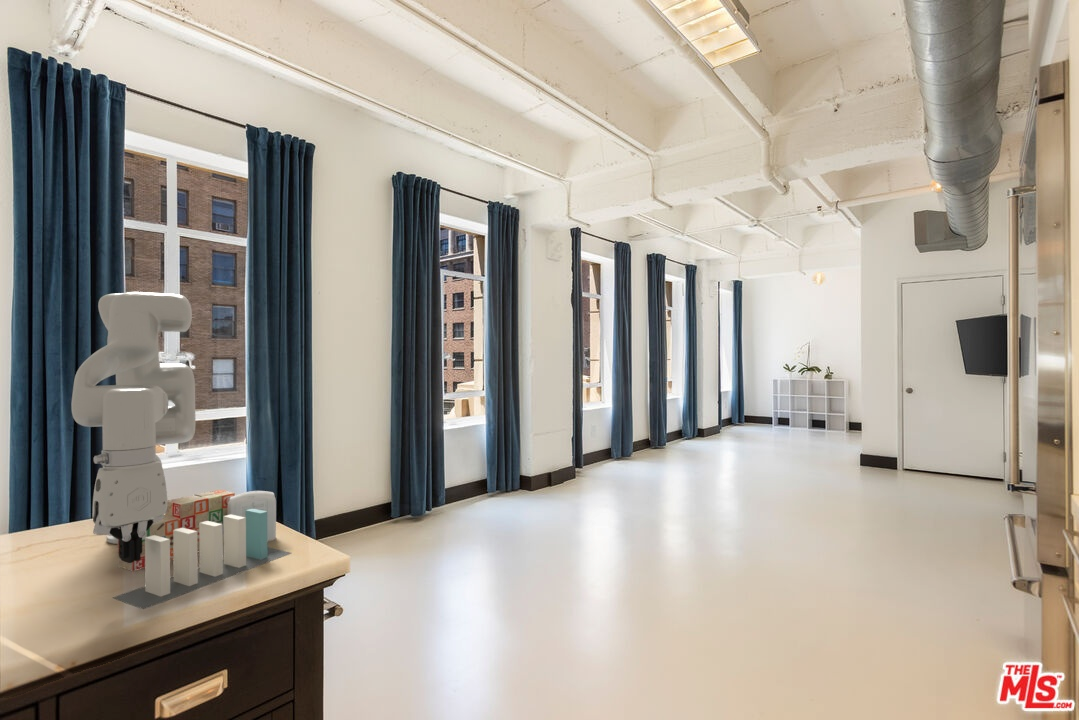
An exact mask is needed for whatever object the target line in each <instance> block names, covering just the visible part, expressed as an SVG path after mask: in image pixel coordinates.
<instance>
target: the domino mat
mask: <svg viewBox="0 0 1079 720" xmlns="http://www.w3.org/2000/svg"><path fill="white" fill-rule="evenodd" d="M291 554H292V552H290V551H285V550H281V549H277V548H273V547H269V546H267V558H264V559H262V560H260V559H256V558H252V557H248V556H246V565H245V566H243V567H240V568H237V567H234V566H230V565H226V564H224V558H223V574H221V575H218V576H216V577H214V576H211V575H208V574H204V573H201V572H200V566H199V567H198V583H197V584H194V585H191V586H187V585H184V584H181V583H177V582H174V575H173V576H170V593H169V594H167V595H164V596H158V595H155V594H152V593H149V592H146V591H145V585H144V586H141V587H139V588H136V589H133V590H130V591H127V592H124V593H122V594H121V593H120V594H118V595H116V596H113V597H112V599H114V600H117V601H120V602H123V603H125V604H128V605H130V606H133V607H135V608H138V609H141V610H146V609H147V608H151V607H153V606H156V605H158V604H161V603H164V602H167V601H169V600H172V599H175V598H177V597H179V596H183V595H185V594H188V593H190V592H193V591H196V590H199V589H201V588H203V587H206V586H208V585H212V584H214V583H217V582H219V581H222V580H225V579H227V578H231V577H232V576H233V577H234V576H235V575H238V574H241V573H243V572H247V571H248V570H251V569H254V568H257V567H259V566H262V565H264V564H267V563H270V562H273V561H274V560H278V559H281V558H283V557H286V556H289V555H291Z"/></svg>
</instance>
